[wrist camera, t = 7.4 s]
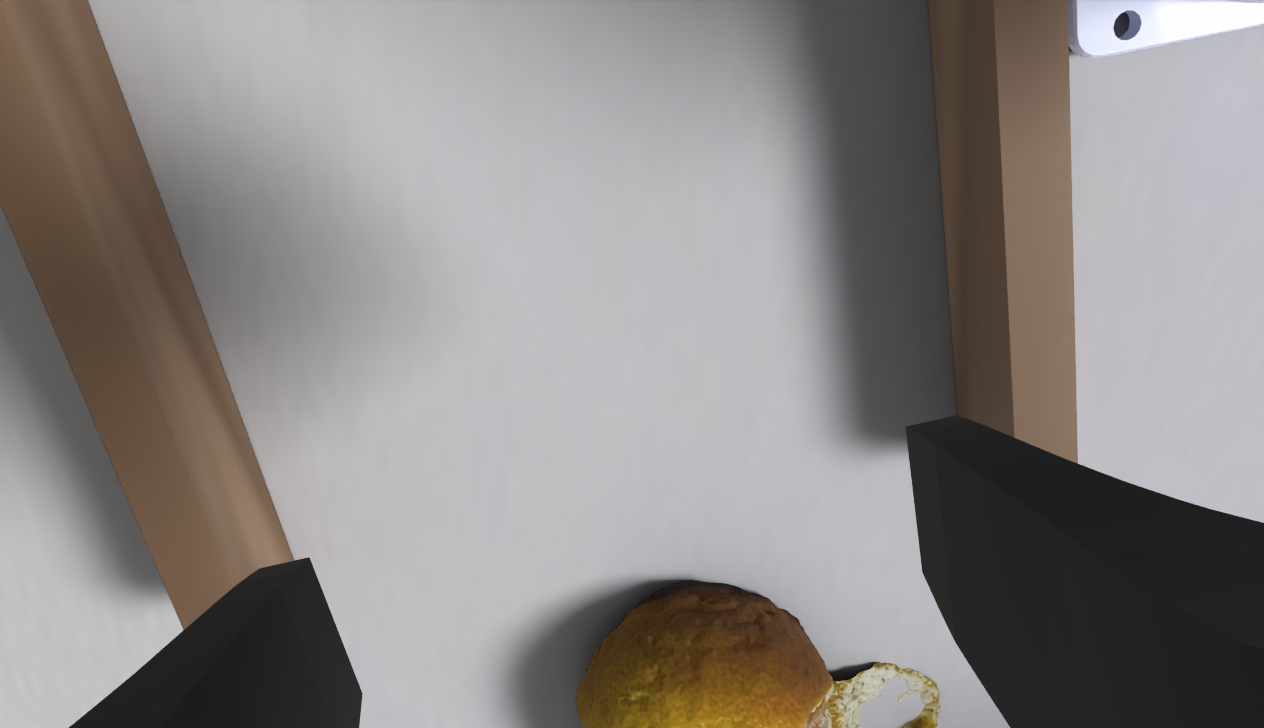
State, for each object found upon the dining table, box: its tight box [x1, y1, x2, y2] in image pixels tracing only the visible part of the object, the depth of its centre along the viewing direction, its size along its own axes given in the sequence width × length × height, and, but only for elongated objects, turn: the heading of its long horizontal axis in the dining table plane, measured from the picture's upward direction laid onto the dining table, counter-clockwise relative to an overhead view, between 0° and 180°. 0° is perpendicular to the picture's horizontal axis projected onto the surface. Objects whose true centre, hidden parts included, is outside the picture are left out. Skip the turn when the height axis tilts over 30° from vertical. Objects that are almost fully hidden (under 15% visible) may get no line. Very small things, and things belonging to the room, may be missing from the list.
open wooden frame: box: [0, 0, 1078, 630], centre depth 17 cm, size 17×18×3 cm
